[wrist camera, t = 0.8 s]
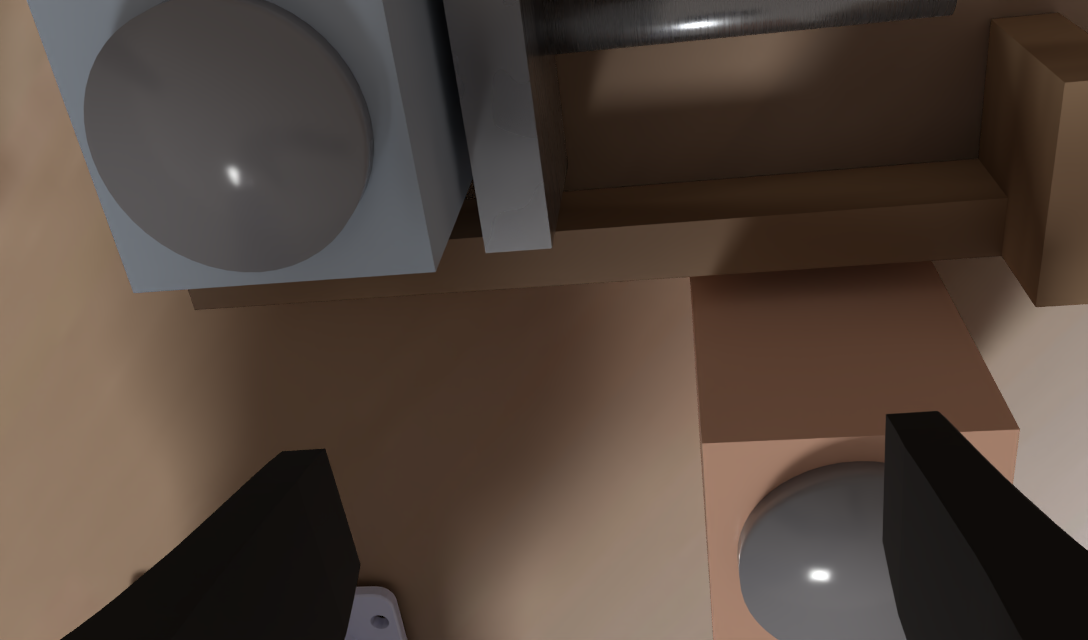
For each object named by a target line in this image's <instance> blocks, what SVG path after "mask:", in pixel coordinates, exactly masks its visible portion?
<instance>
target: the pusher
mask: <svg viewBox="0 0 1088 640" xmlns="http://www.w3.org/2000/svg"><path fill="white" fill-rule="evenodd" d="M443 3H444V9H445V15H446V21H447V27H448V33H449V39H450V45H451V50H452V56H453V62H454V68H455V74H456V80H457V86H458V92H459V98H460V104H461V110H462V116H463V122H464V128H465V134H466V139H467V145H468V151H469V157H470V163H471V169H472V175H473V181H474V187H475V193H476V199H477V205H478V211H479V217H480V223H481V228H482V234H483V240H484V246H485V252H486V253H495V252H509V251H523V250H536V249H550V248H552V246H553V241H554V236H555V231H556V225H557V220H558V215H559V210H560V204H561V199H562V194H563V189H564V183H565V178H566V173H567V168H568V160H567V152H566V144H565V135H564V127H563V118H562V110H561V102H560V93H559V85H558V76H557V68H556V59H555V54H565V53H575V52H585V51H595V50H605V49H615V48H625V47H636V46H646V45H656V44H666V43H676V42H686V41H696V40H706V39H716V38H727V37H737V36H747V35H757V34H767V33H777V32H787V31H797V30H807V29H817V28H828V27H838V26H848V25H858V24H868V23H878V22H888V21H898V20H908V19H919V18H929V17H939V16H949V15H952V14H953V12H954V10H955V7H956V3H957V0H443Z"/></svg>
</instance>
